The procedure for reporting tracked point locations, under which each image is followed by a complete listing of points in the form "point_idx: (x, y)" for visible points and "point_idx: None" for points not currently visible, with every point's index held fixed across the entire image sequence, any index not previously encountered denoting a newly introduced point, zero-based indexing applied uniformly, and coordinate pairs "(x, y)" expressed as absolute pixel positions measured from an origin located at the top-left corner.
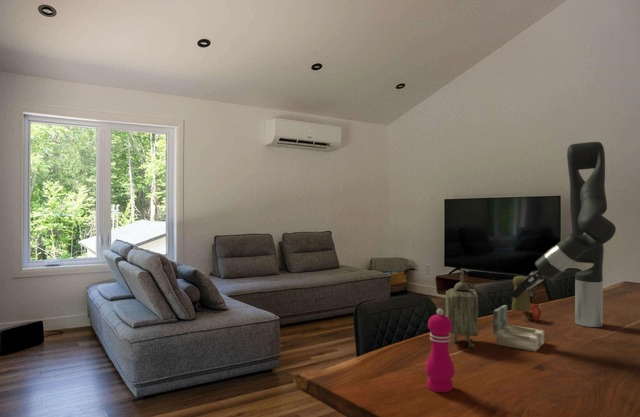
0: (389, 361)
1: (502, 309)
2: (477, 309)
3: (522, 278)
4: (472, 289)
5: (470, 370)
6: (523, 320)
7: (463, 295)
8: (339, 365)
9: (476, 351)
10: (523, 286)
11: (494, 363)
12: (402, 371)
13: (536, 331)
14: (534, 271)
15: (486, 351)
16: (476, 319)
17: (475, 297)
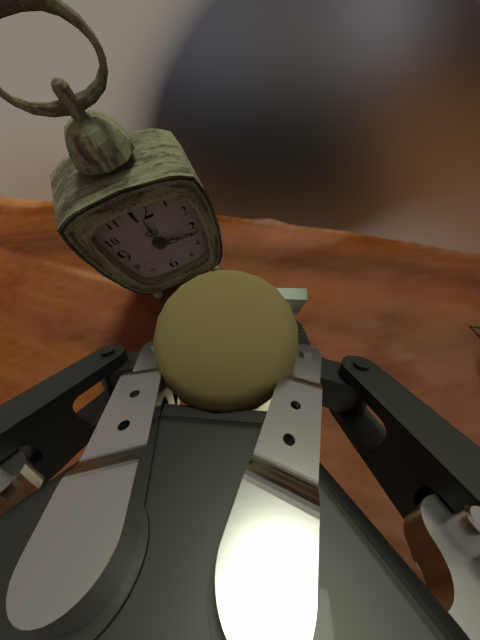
0: (48, 231)
1: None
2: (85, 261)
3: (158, 354)
4: (154, 176)
5: (44, 330)
6: (473, 326)
7: (56, 191)
8: (16, 199)
9: (146, 308)
10: (104, 384)
11: (91, 353)
12: (14, 259)
13: (268, 403)
14: (217, 601)
15: (155, 323)
16: (108, 276)
17: (57, 226)
